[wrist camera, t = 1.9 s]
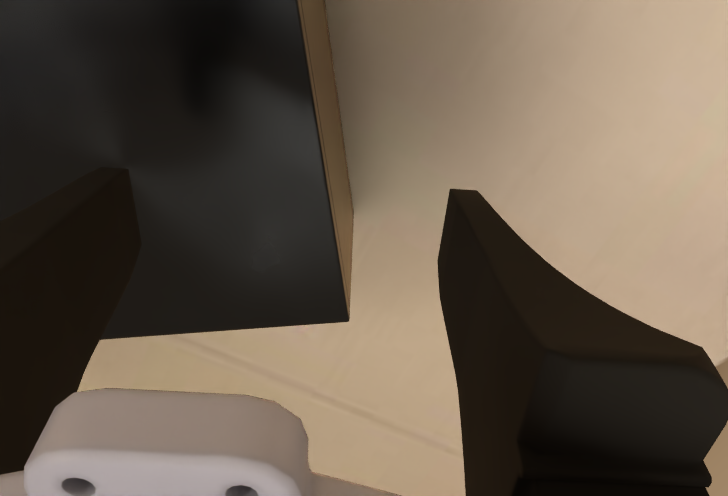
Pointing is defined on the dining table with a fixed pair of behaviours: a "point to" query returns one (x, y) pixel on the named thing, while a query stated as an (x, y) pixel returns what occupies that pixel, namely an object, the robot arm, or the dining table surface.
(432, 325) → the dining table surface
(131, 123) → the black storage box
